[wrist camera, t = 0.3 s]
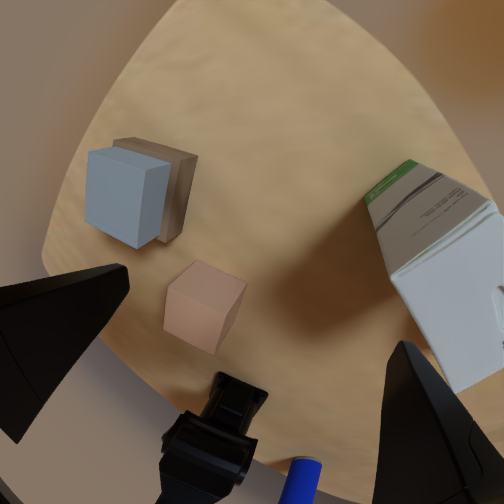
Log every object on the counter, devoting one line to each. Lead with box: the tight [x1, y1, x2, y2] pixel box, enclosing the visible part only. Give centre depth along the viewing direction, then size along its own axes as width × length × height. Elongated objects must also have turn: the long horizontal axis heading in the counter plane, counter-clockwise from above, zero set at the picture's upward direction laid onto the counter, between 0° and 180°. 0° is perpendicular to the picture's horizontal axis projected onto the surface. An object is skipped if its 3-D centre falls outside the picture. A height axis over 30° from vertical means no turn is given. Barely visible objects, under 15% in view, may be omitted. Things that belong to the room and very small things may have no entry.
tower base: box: [113, 137, 198, 243], centre depth 22 cm, size 7×7×3 cm
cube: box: [163, 260, 248, 356], centre depth 24 cm, size 5×5×5 cm
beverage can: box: [278, 457, 322, 504], centre depth 29 cm, size 5×5×15 cm
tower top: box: [85, 147, 171, 249], centre depth 19 cm, size 6×6×3 cm
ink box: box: [364, 159, 504, 394], centre depth 12 cm, size 9×5×12 cm, turn 44°
